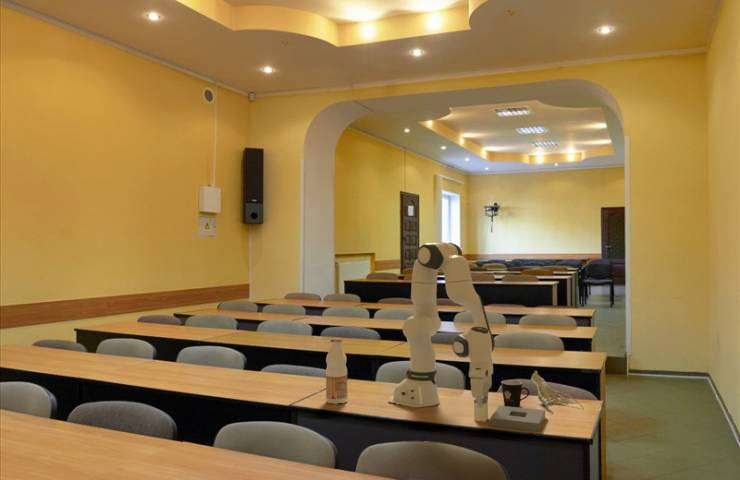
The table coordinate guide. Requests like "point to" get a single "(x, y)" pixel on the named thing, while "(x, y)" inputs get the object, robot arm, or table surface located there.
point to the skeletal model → (549, 393)
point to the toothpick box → (481, 410)
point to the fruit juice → (336, 373)
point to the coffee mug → (512, 392)
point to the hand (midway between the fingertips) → (482, 403)
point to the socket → (518, 418)
